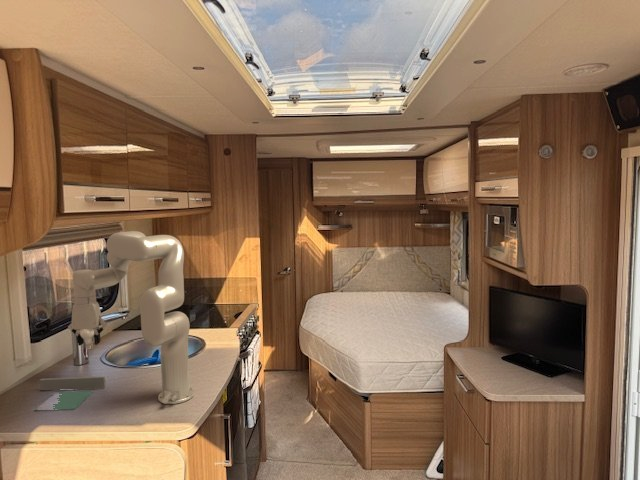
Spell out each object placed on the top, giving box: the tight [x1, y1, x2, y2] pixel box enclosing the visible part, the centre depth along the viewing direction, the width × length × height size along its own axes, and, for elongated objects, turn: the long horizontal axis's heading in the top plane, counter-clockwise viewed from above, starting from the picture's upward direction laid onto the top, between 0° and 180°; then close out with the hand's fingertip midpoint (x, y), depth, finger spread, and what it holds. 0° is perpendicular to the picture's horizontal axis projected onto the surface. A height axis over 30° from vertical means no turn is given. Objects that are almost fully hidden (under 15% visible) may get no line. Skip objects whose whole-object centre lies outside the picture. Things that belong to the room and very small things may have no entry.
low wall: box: [38, 376, 107, 391], centre depth 166 cm, size 1×24×4 cm, turn 93°
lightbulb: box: [79, 329, 95, 351], centre depth 175 cm, size 6×6×11 cm
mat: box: [33, 390, 94, 411], centre depth 156 cm, size 14×14×1 cm
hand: (89, 343), depth 175 cm, fingers closed on lightbulb, 5 cm apart
